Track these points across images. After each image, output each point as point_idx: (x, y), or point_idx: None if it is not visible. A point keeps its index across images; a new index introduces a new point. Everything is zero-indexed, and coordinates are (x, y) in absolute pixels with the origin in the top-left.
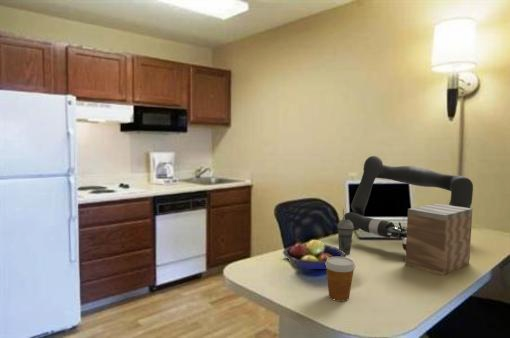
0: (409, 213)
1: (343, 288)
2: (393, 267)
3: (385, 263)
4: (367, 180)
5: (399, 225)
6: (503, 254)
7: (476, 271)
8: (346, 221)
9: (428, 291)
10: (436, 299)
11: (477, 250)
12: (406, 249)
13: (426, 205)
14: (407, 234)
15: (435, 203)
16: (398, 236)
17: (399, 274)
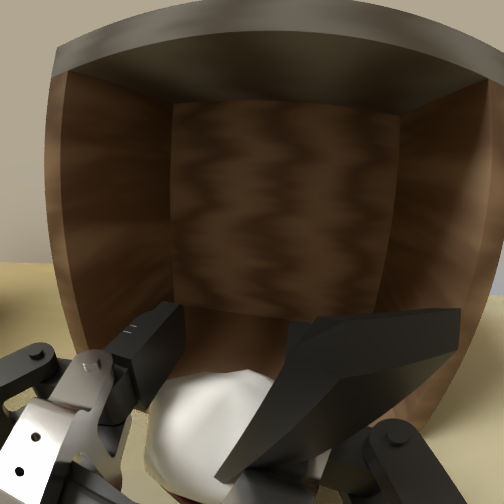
0: (501, 86)
1: None
2: (486, 439)
3: (486, 490)
4: None
5: (404, 391)
6: (49, 264)
7: None
8: None
9: (484, 315)
10: (487, 302)
11: (18, 289)
12: (454, 372)
13: (204, 4)
14: (493, 264)
15: (67, 44)
16: (365, 501)
17: (501, 387)
